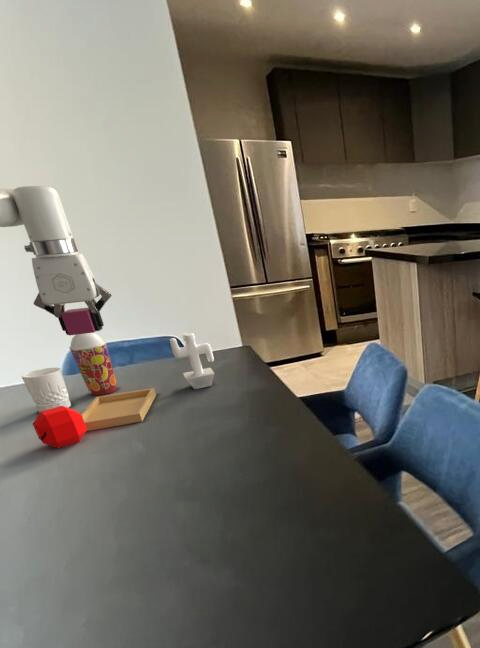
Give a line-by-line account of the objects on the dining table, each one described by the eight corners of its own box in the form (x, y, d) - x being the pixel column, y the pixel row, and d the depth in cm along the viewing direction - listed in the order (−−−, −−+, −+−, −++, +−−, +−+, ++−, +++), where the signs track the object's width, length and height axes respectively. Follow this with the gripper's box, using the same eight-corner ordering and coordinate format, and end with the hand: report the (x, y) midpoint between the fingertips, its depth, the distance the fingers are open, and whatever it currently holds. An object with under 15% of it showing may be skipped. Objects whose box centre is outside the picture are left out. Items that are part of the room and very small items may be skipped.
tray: (75, 433, 112) (72, 424, 111) (98, 404, 129) (95, 397, 128) (142, 421, 116) (139, 413, 115) (156, 395, 133) (154, 387, 132)
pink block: (68, 335, 110) (60, 313, 108) (75, 331, 114) (68, 309, 112) (94, 332, 111) (86, 310, 109) (100, 328, 116) (93, 306, 114)
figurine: (222, 384, 138) (208, 332, 132) (185, 392, 133) (169, 339, 128) (217, 378, 144) (204, 328, 138) (182, 386, 139) (167, 334, 133)
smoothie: (81, 394, 138) (55, 324, 130) (113, 385, 144) (90, 317, 136) (94, 399, 133) (68, 326, 125) (127, 389, 139) (103, 319, 132)
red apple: (40, 444, 107) (26, 412, 104) (83, 431, 113) (71, 400, 110) (48, 454, 102) (34, 421, 99) (93, 440, 108) (80, 408, 105)
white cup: (40, 417, 123) (24, 379, 119) (34, 410, 128) (18, 373, 124) (77, 407, 128) (63, 370, 124) (70, 400, 133) (56, 365, 129)
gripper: (0, 254, 100) (34, 340, 107) (96, 246, 105) (123, 329, 112) (15, 251, 107) (47, 333, 114) (105, 244, 112) (130, 323, 119)
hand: (84, 330), depth 113 cm, fingers closed on pink block, 5 cm apart
